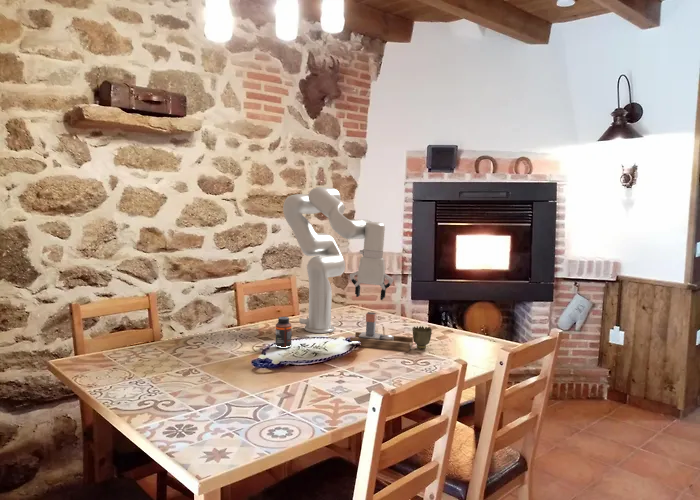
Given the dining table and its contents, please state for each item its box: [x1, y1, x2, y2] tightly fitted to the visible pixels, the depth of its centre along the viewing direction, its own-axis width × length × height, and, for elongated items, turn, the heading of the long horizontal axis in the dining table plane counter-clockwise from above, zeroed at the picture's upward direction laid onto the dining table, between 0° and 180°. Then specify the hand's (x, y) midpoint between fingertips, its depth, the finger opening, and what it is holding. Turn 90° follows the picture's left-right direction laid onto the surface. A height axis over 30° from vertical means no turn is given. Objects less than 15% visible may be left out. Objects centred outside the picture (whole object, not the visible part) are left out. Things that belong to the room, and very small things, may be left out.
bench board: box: [349, 331, 414, 352], centre depth 218 cm, size 23×10×3 cm, turn 75°
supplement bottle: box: [275, 316, 293, 347], centre depth 210 cm, size 6×6×11 cm
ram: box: [359, 311, 395, 341], centre depth 218 cm, size 13×6×10 cm, turn 75°
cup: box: [411, 325, 433, 350], centre depth 214 cm, size 8×7×8 cm
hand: (369, 297), depth 218 cm, fingers open, 9 cm apart
